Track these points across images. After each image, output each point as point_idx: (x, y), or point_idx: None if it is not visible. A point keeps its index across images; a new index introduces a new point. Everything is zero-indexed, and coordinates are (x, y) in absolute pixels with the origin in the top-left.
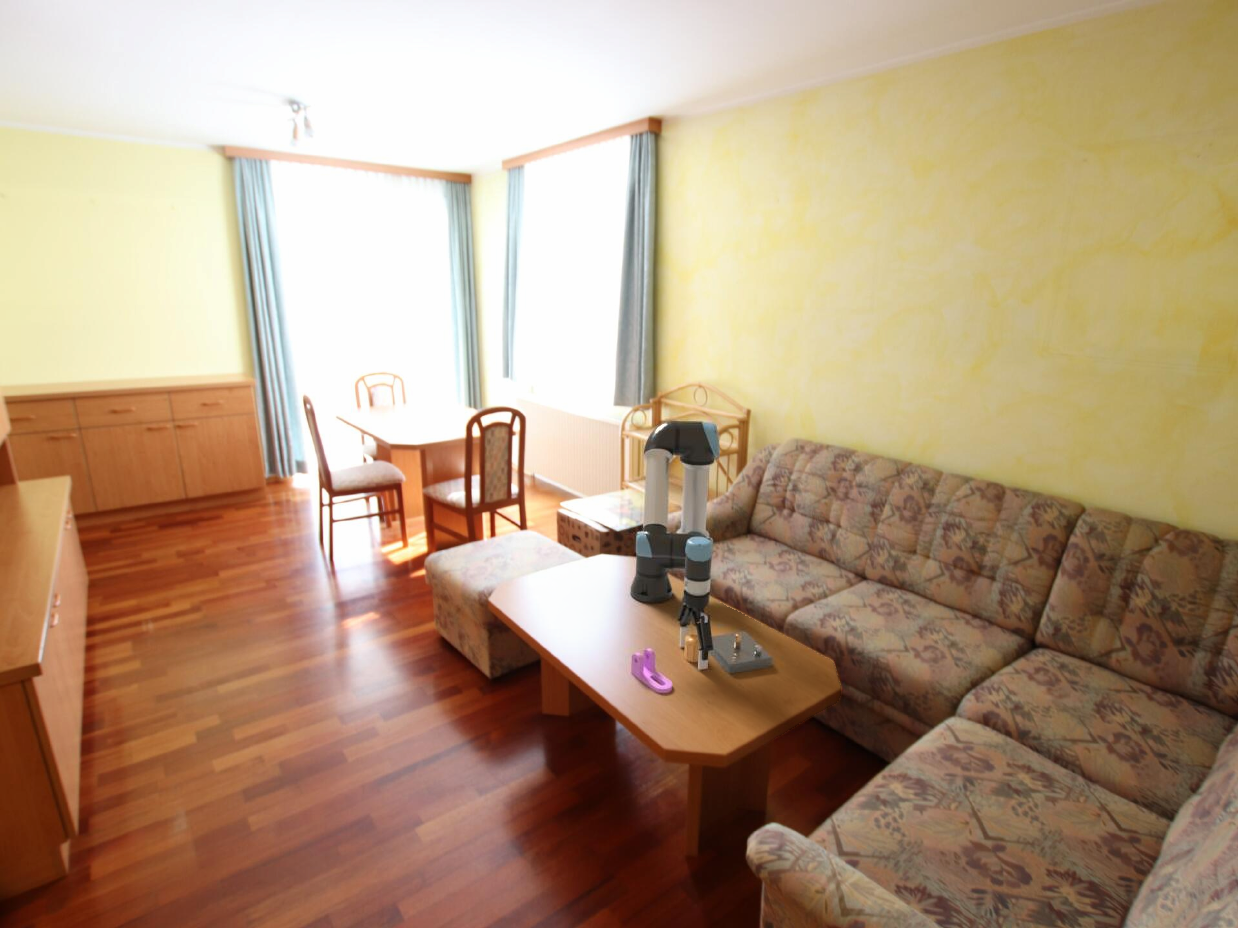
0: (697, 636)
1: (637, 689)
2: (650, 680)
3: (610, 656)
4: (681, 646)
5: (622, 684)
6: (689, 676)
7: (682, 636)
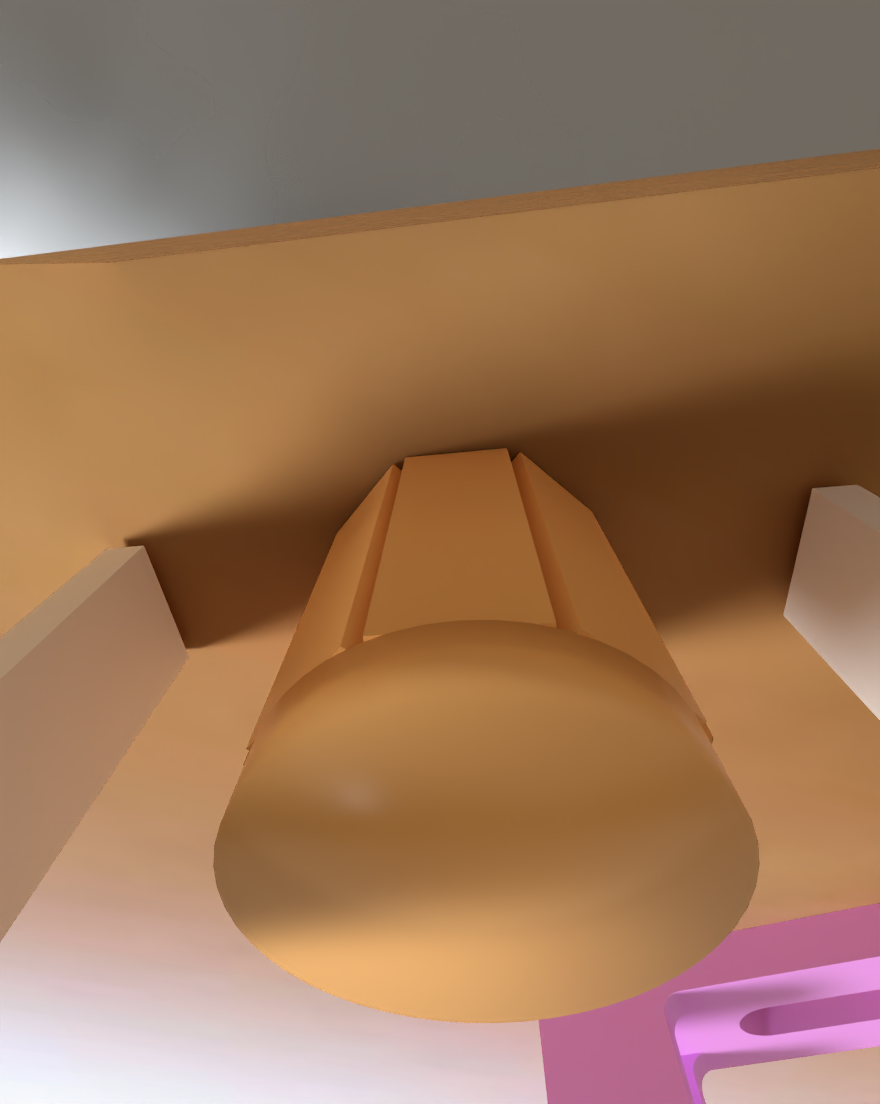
0: (359, 791)
1: None
2: (806, 1040)
3: (325, 1080)
4: (178, 654)
5: None
6: (867, 738)
7: (75, 785)
